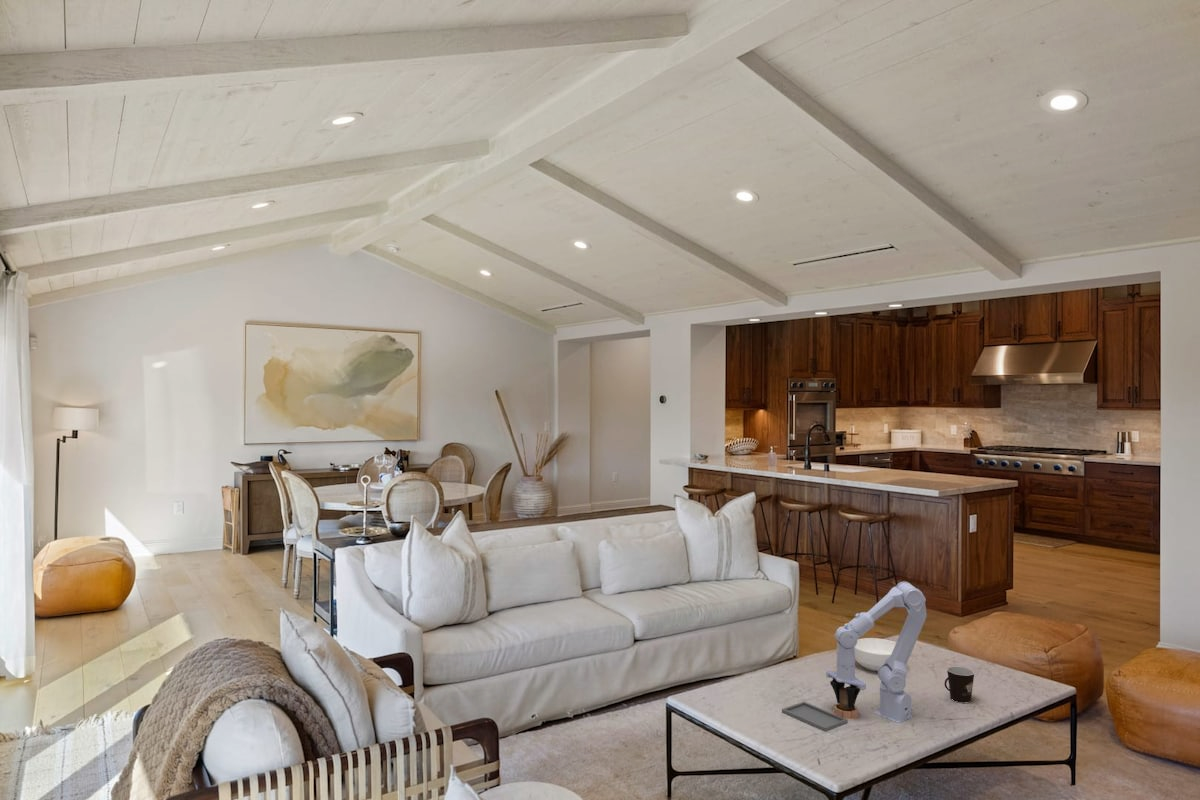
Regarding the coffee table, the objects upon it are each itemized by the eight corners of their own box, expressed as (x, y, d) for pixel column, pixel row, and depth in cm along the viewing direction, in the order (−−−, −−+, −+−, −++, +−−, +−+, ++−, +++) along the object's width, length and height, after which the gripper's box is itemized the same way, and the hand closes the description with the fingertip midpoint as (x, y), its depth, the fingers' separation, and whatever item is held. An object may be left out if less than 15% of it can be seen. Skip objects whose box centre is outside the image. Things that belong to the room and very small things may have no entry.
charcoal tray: (847, 724, 252) (847, 719, 252) (825, 732, 245) (825, 728, 245) (803, 705, 266) (803, 701, 266) (781, 713, 260) (781, 709, 260)
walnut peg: (854, 714, 258) (854, 690, 258) (846, 717, 256) (846, 693, 256) (844, 710, 262) (844, 686, 261) (836, 713, 259) (836, 689, 259)
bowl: (900, 680, 289) (900, 657, 289) (846, 670, 300) (846, 648, 299) (909, 664, 306) (909, 643, 306) (858, 655, 316) (858, 635, 316)
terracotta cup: (864, 716, 258) (864, 708, 258) (848, 722, 253) (848, 714, 253) (843, 707, 265) (843, 700, 265) (827, 713, 260) (827, 706, 260)
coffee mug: (966, 694, 276) (966, 666, 276) (979, 704, 267) (979, 675, 267) (934, 695, 275) (934, 666, 275) (945, 704, 267) (945, 675, 267)
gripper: (820, 660, 262) (820, 700, 262) (856, 673, 250) (856, 715, 251) (833, 656, 266) (833, 695, 266) (870, 668, 254) (870, 709, 255)
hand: (845, 704), depth 259 cm, fingers closed on walnut peg, 4 cm apart
